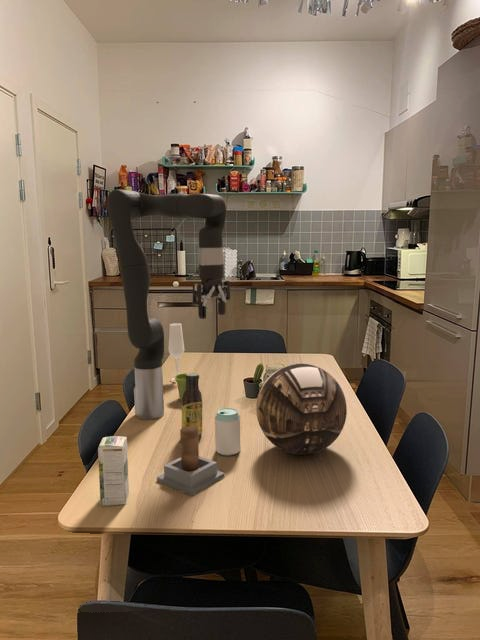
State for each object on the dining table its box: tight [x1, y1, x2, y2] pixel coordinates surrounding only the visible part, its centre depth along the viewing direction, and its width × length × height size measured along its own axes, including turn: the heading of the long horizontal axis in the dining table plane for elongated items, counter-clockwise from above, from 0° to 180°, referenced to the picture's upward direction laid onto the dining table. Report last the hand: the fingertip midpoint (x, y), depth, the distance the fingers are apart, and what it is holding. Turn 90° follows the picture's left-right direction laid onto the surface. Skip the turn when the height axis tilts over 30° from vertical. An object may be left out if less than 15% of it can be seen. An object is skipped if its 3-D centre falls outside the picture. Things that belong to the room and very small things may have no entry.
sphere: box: [255, 363, 348, 456], centre depth 141 cm, size 25×25×25 cm
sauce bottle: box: [181, 372, 203, 440], centre depth 152 cm, size 6×6×20 cm
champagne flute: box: [168, 323, 185, 381], centre depth 210 cm, size 7×7×24 cm
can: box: [214, 407, 241, 457], centre depth 142 cm, size 7×7×12 cm
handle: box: [179, 427, 200, 473], centre depth 126 cm, size 5×5×12 cm
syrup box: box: [97, 435, 130, 507], centre depth 117 cm, size 6×6×14 cm
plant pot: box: [173, 372, 201, 401], centre depth 188 cm, size 9×9×9 cm
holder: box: [156, 455, 225, 497], centre depth 127 cm, size 12×12×4 cm
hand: (212, 316), depth 153 cm, fingers open, 8 cm apart
